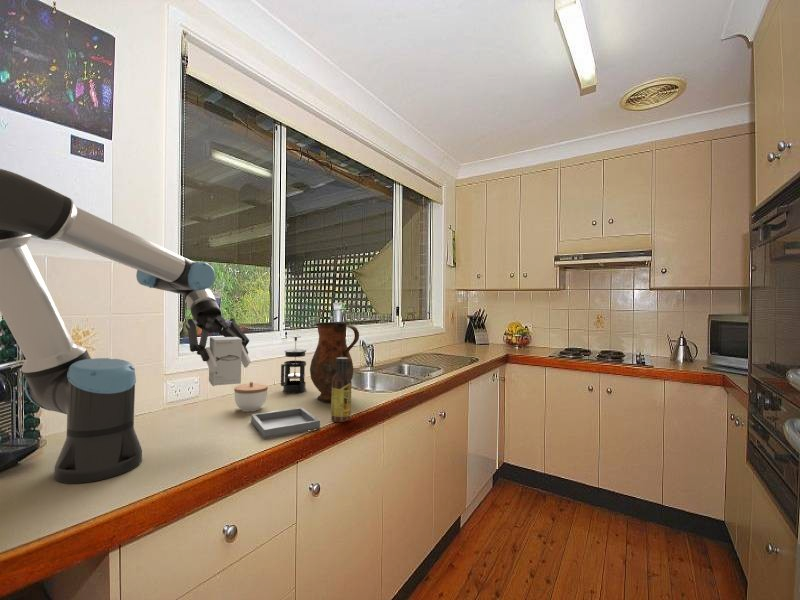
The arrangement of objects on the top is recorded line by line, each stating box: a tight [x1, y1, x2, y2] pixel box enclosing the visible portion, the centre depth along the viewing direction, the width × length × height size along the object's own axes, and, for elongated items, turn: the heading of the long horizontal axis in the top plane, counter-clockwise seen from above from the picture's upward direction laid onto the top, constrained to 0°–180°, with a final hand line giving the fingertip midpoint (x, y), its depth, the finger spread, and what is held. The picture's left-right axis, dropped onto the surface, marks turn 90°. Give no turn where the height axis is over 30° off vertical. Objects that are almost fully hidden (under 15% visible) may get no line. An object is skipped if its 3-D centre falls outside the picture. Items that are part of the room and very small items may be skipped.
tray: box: [250, 407, 321, 440], centre depth 113 cm, size 16×16×2 cm
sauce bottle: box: [330, 357, 352, 423], centre depth 120 cm, size 7×6×20 cm
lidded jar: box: [233, 381, 269, 413], centre depth 130 cm, size 11×11×9 cm
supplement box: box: [208, 336, 242, 387], centre depth 106 cm, size 7×7×13 cm
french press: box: [280, 335, 307, 394], centre depth 157 cm, size 12×9×23 cm
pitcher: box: [309, 321, 360, 404], centre depth 144 cm, size 17×21×30 cm
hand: (231, 366), depth 104 cm, fingers closed on supplement box, 9 cm apart
